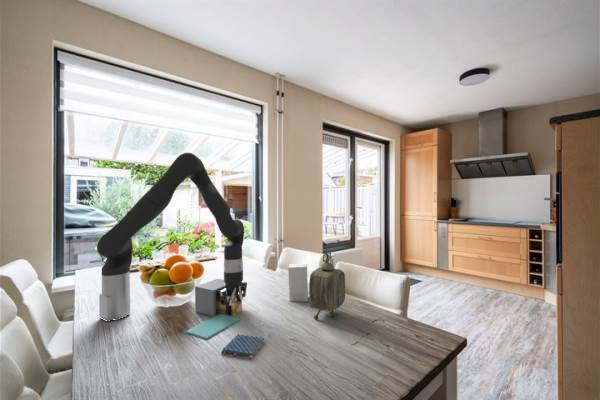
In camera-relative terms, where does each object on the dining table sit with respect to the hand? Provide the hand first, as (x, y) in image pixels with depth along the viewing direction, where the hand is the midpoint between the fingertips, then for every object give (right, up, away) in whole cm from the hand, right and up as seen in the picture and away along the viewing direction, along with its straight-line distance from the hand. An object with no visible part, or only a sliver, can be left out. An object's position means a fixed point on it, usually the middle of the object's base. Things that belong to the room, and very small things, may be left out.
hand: (234, 311), depth 108 cm
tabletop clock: (+38, 0, -4) cm, 38 cm away
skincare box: (+26, 0, +14) cm, 30 cm away
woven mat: (+9, -1, -26) cm, 28 cm away
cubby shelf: (-9, -1, +5) cm, 10 cm away
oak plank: (-4, -1, +3) cm, 5 cm away
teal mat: (-4, -1, -11) cm, 12 cm away
